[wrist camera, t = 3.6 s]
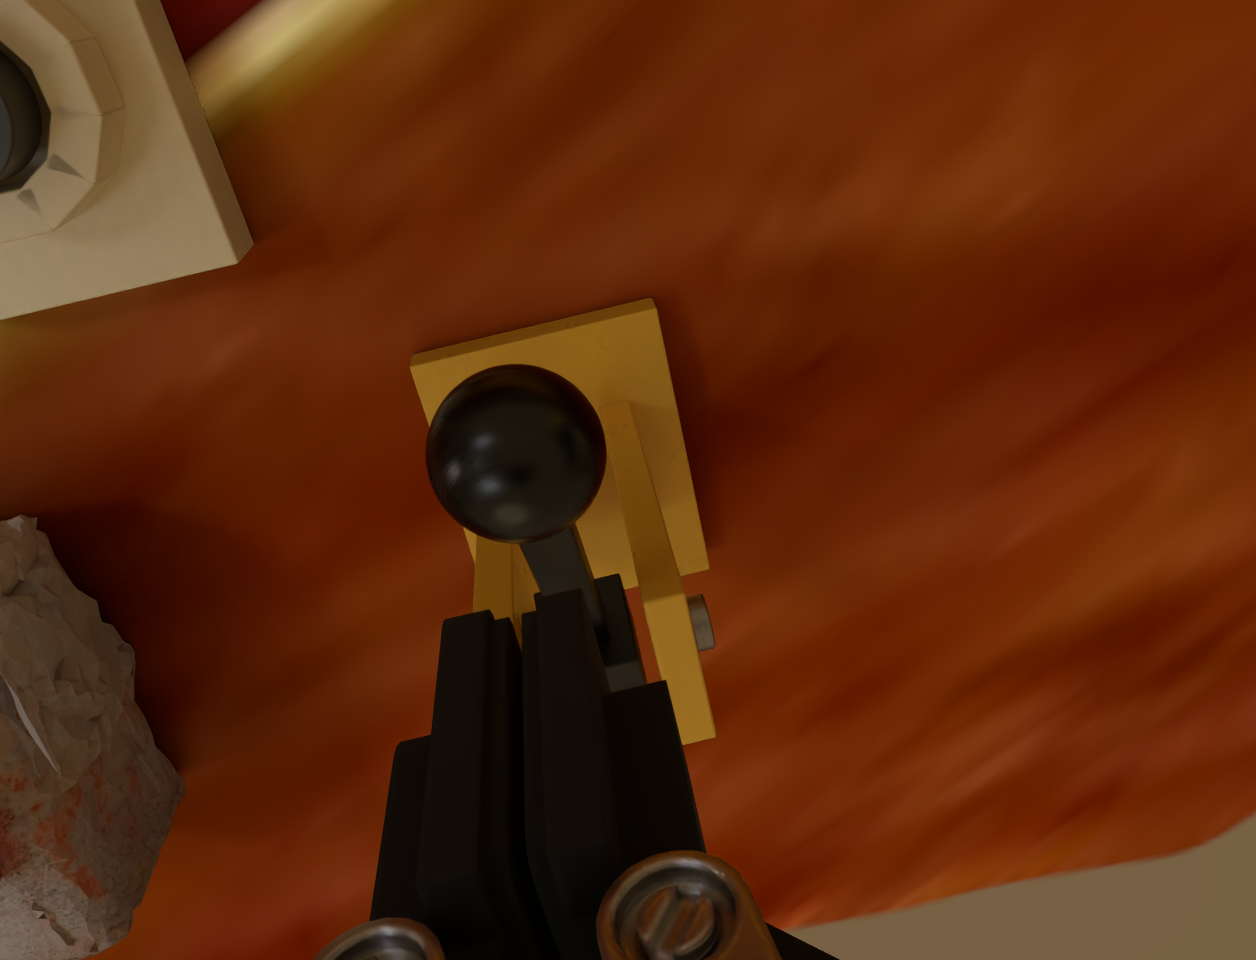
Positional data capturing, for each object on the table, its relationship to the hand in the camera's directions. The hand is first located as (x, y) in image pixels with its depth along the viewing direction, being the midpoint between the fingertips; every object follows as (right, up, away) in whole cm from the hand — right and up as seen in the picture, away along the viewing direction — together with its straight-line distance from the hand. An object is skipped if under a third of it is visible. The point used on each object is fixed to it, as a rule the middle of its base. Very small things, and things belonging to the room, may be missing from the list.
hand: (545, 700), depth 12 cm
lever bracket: (-1, +3, +23) cm, 24 cm away
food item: (-20, -4, +25) cm, 32 cm away
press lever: (-1, +2, +11) cm, 11 cm away
